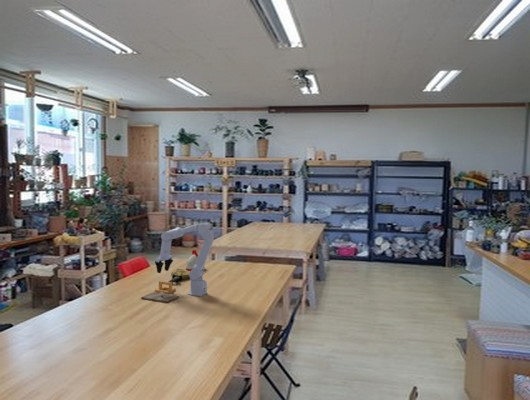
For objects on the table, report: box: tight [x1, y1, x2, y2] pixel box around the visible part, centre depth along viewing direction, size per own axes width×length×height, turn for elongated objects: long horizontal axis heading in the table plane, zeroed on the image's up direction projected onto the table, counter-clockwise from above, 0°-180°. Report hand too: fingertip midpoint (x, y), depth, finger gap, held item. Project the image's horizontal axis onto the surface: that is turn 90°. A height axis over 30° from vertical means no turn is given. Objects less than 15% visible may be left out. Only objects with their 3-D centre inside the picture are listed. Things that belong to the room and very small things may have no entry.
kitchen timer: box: [185, 249, 199, 271], centre depth 313 cm, size 14×14×15 cm
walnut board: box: [140, 291, 180, 304], centre depth 236 cm, size 18×12×1 cm, turn 68°
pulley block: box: [167, 268, 191, 284], centre depth 281 cm, size 14×6×30 cm
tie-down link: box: [154, 280, 177, 294], centre depth 250 cm, size 9×9×6 cm
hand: (162, 271), depth 251 cm, fingers open, 7 cm apart
